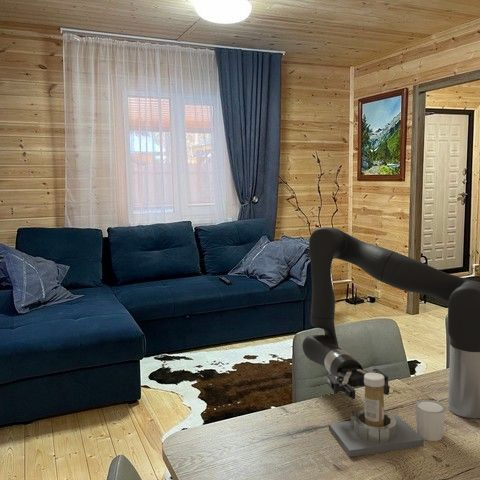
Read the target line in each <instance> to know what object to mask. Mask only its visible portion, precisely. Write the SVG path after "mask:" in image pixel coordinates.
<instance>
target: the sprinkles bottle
mask: <svg viewBox="0 0 480 480" xmlns="http://www.w3.org/2000/svg"><path fill="white" fill-rule="evenodd" d="M364 383H365V387H364V410H365V424H366V425H368V426H373V427H383V426H384V412H385V401H384V399H385V398H384V396H385V394H384V376H383V375H382V374H379V373H370V372H369V373H367V374H365V375H364Z"/></svg>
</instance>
